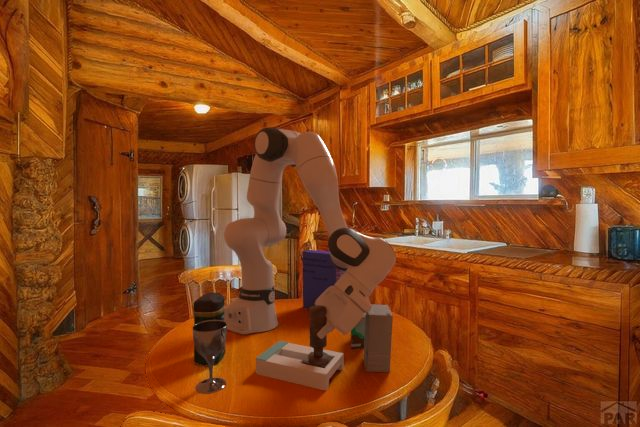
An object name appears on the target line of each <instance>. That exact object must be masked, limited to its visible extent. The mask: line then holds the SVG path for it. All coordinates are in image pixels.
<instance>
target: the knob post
mask: <svg viewBox="0 0 640 427" xmlns="http://www.w3.org/2000/svg"><path fill="white" fill-rule="evenodd" d="M308 314H309V316H308V320H309V322H308V324H309V328H308V330H309V347H312V348H314V352H313V353H310V354H309V356H308V362H309V363H308V365H311V366H316V367H323V366H324V365H326V364H327V363H328V354H327V353H325V352H323V350H324V348H326V347H327V345H328V342H327V341H328V340H327V335H328V334H326V335H325V337H324V338H323V339H321V338H319V337H318V335H317V334H316V332H317V331H318V330H319V328H322V327H324V326H325V325H326V323H327V318H326V317H325V315H326V307H325V306H320V305H316V306H311V307H309V309H308Z"/></svg>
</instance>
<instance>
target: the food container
mask: <svg viewBox="0 0 640 427" xmlns="http://www.w3.org/2000/svg"><path fill="white" fill-rule="evenodd" d="M365 318H366V313H365V312H364V315H363V317H362V319H361V320H360V321H359V322H358V323H357V325H356V326H355V327H354V328H353V329H352V330H351V331H350V349H351V350H361V349H364V337H365Z"/></svg>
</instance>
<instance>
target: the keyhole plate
mask: <svg viewBox="0 0 640 427" xmlns="http://www.w3.org/2000/svg"><path fill="white" fill-rule="evenodd" d="M313 352H314V348H312V347H311V346H306V345H302V344H301V345H300V344H296V343H291V342H288V341H286V340H285V341H284V340H278V341H277V342H276V343H274V344H272V345H271V346H270V347H269V348H267V349H266V350H265V351H263V352H262V353H260V354H259V355H258V356H256V358H255V374H256V375H259V376H264V377H267V378H271V379H276V380H280V381H284V382H288V383H293V384H297V385H301V386H305V387H309V388H314V389H318V390H321V391H325V392H327V391H328V390H329V388H330V387H329V386H330V378H332V376H333V375H334V374H335V373H336V371H337V370H339V371H343V370H344V368H345V367H344V366H345V360H344V359H345V357H344V356H345V355H344V353H343V352H339V351H338V352H337V351H335V350H334V351H333V350H328V349H323V352H325V353H327V354H328V363H327V364H326V365H324V366H322V367H321V366H313V365H311V364H309V362H308V356H309V354H310V353H313Z"/></svg>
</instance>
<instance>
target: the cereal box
mask: <svg viewBox="0 0 640 427" xmlns="http://www.w3.org/2000/svg"><path fill="white" fill-rule="evenodd" d="M301 252H302V309H306V310H309V307H311V306H316V305H315V301H316V300H317V298H318V297H319V296H320V295H321V294H322V293H323V292H324V291H325V290H326V289H327V288H329V287H330V286H334V284H335V283H336V282H337V281H338V280H339V279H340V277H341V276H342V275H343V274H344V273H345V272H346V271H342V270H339V269H337V268H336V267H335V266H334V265H333V263H332V261H331V258H330V253H329V250H328V251H327V250H326V251H325V250H316V249H305V250H303V251H301Z"/></svg>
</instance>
